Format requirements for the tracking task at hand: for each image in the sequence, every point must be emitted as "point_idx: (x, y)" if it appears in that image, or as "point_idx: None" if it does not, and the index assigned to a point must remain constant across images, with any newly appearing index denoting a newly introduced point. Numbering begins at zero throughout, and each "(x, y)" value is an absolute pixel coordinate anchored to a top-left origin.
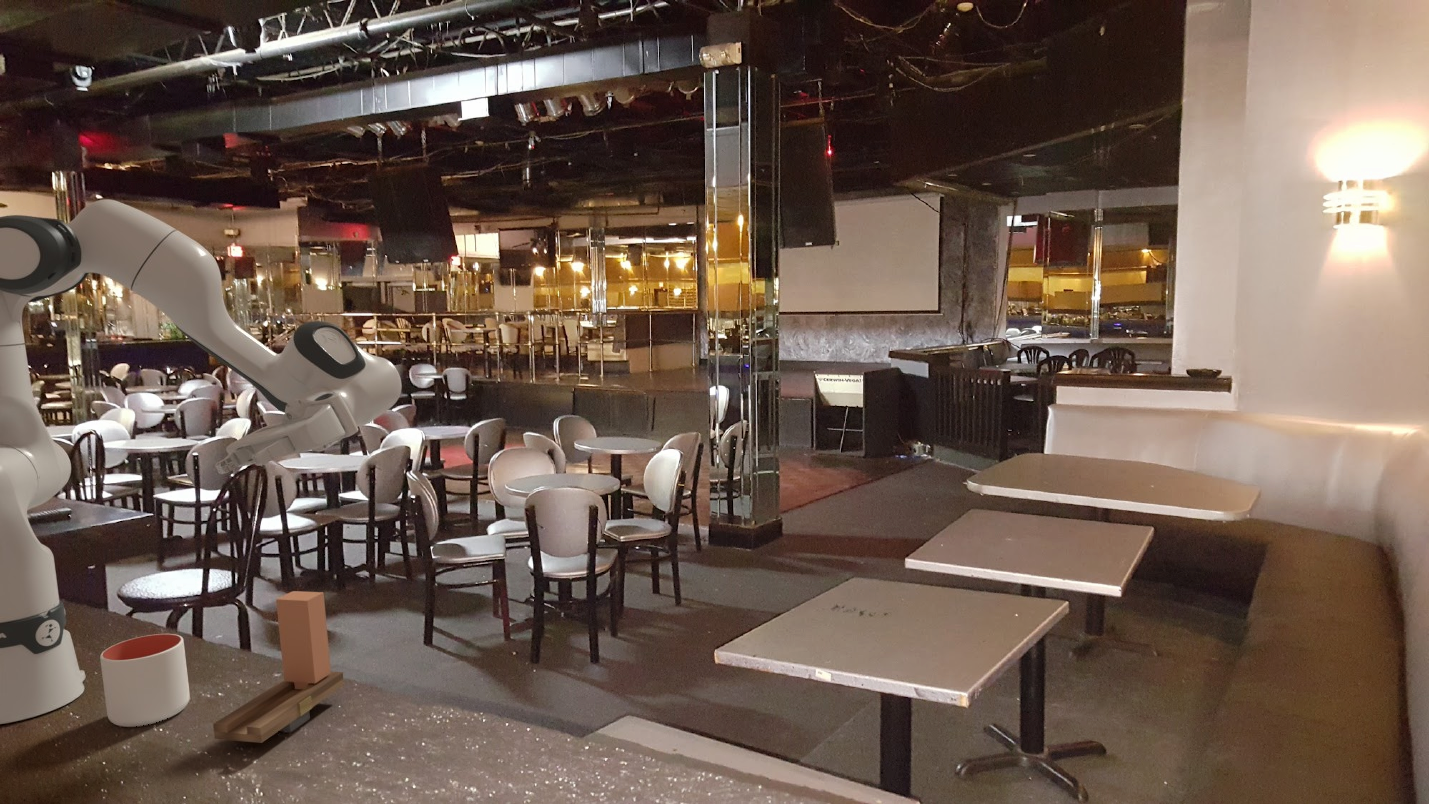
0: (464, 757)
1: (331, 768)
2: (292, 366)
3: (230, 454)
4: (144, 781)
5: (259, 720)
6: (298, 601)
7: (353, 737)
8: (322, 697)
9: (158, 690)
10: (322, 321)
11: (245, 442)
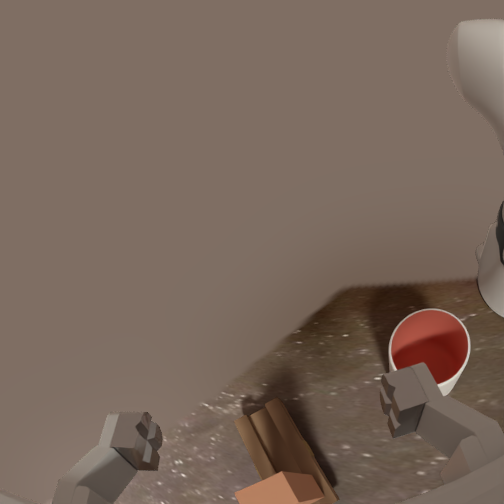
0: (128, 500)
1: (187, 448)
2: None
3: (458, 420)
4: (286, 354)
5: (248, 426)
6: (248, 487)
7: (215, 484)
8: None
9: (389, 369)
10: None
11: (435, 492)
